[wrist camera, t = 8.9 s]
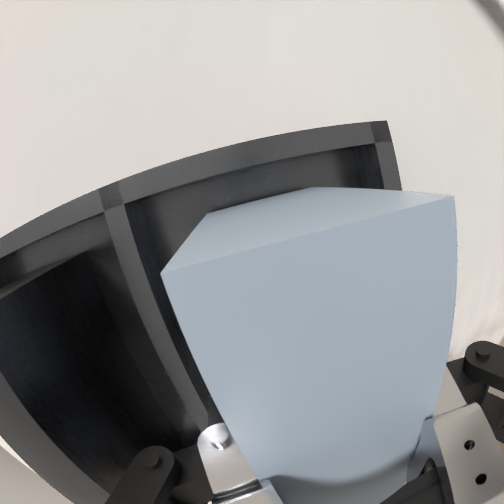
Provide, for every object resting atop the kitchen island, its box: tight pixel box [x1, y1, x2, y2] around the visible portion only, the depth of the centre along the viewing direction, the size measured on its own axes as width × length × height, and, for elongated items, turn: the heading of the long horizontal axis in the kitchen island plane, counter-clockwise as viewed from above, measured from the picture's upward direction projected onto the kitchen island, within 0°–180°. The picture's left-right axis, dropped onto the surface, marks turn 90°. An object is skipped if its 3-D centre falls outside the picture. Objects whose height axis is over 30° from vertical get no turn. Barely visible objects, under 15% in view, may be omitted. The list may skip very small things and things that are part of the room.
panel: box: [160, 187, 457, 504], centre depth 8 cm, size 4×12×7 cm, turn 14°
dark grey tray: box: [0, 121, 402, 504], centre depth 9 cm, size 20×16×8 cm
